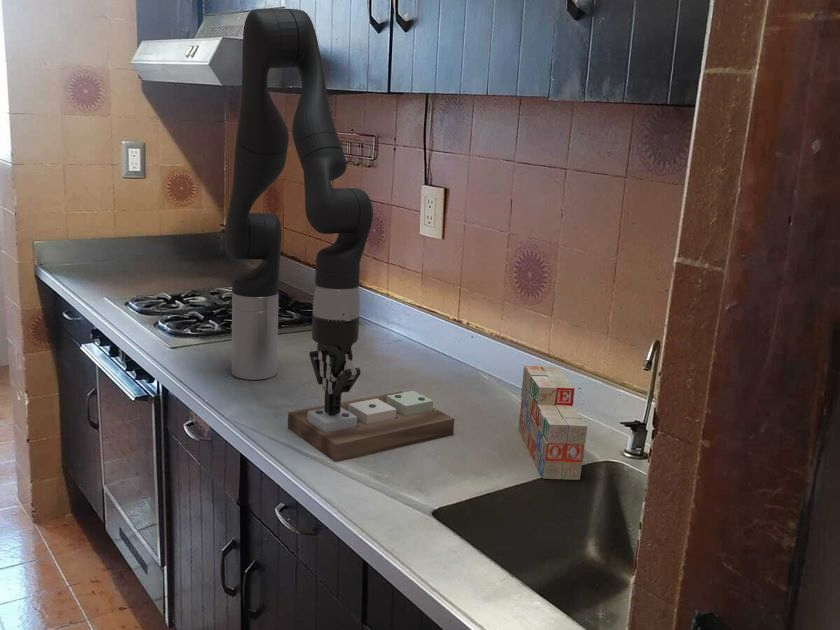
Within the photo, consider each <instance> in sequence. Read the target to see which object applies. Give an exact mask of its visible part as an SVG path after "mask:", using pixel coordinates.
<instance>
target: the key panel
mask: <svg viewBox="0 0 840 630" xmlns="http://www.w3.org/2000/svg"><path fill="white" fill-rule="evenodd" d="M398 393H404V392H403V391H397V392H396V391H395V392H391V393H384V394H380V395H379V394H378V395H373V396H369V397H364V398H357V399H352V400H346V401H341V405H340V406H341V407H342V408H343V409H345V410H347V411H348V404H350V403H355V402H361V401H366V400H372V399H379V400H381V401H383V402H384V403H386V396H388V395H393V394H398ZM323 408H325V404H324V405H320V406H314V407H309V408H308V407H307V408H303V409H297V410H292V411H288V412H287V429H288V430H289V431H291V432H292V433H293V434H295V435H296V436H298V437H299V438H300V439H302V440H303V441H305V442H306V443H308V444H309V445H310V446H312V447H314V448H315V449H316V450H317V451H319V452H321V453H322V454H323V455H325V456H326V457H328V458H329V459H330V460H331V461H333V462H334V463H338V462H342V461H346V460H351V459H355V458H359V457H363V456H368V455H371V454H376V453H380V452H386V451H389V450H394V449H398V448H402V447H406V446H409V445H414V444H419V443H424V442H428V441H433V440H436V439H440V438H445V437H450V436H454V433H455V431H454V429H455V418H454V417H452V416H450V415H448V414H447V413H444V412H442V411H441V410H439V409H437V408H435V407H433V411H431V412H426V413H422V414H417V415H412V416H407V417H404V416H402V415H401V414H399V413H397V412H396V419H393V420H388V421H383V422H378V423H373V424H368V425H366V424H364V423H362V422H361V421H359V420H357V427H354V428H349V429H344V430H339V431H335V432H330V433H323V432H322V431H320V430H319V429H317V428H316V427H314V426H313V425H311V424H310V423H308V422H307V418H308V411H312V410H318V409H323Z"/></svg>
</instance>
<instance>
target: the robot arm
mask: <svg viewBox="0 0 840 630" xmlns="http://www.w3.org/2000/svg"><path fill="white" fill-rule="evenodd" d="M243 25H244V26H243V32H242V33H243V34H242V62H241V63H242V64H241V65H242V67H241V69H242V70H241V73H242V74H241V95H240V96H241V97H240V106H239V115H238V123H237V130H236V137H235V139H236V140H235V149H234V161H233V163H234V164H233V176H232V177H233V178H232V179H233V180H232V187H231V194H230V199H229V204H228V205H229V206H228V211H227V215H226V221H225V228H224V229H225V230H224V249H225V251H226V254H227V255H228V256H229V258H232V259H235V260H260V261H261V262H260V263H259V264H258V265H257V266H256V267H254V268H253V269H251V270H249V271H247V272H244V273H241V274H240V275H237V276H235V277H234V278H233V279H232V283H231V309H232V310H231V375H232V376H233V377H236V378H239V379H242V380H251V381H252V380H257V381H258V380H266V379H270V378H273V377H275V376H276V375H277V373H278V343H279V341H278V336H279V335H278V334H279V332H278V330H279V293H280V292H279V289H280V287H279V284H280V264H281V263H280V262H281V253H282V252H281V251H282V250H281V249H282V238H283V234H282V223H281V220H280V218H279V216H278V215H277V214H275V213H271V212H270V213H269V212H268V213H266V212H265V213H263V212H250V211H251V209H252V207H253V205H254V203H256V201H257V200H258V199H259V197H260V196H262V195H263V193H265V192H266V190H268V188H270V186H272V185H273V183H274V182H276V180H277V179H278V178H279V177H280V175H281V173H282V172H283V170H284V168H285V165H286V160H287V154H288V147H289V140H290V134H289V129H288V126H287V123H286V121H285V120H284V118H283V116H282V114H281V113H280V111H279V109H278V107H277V105H275V103H274V101H273V98H272V97H271V94H270V91H269V87H268V76H269V71H270V69H285V68H286V69H287V68H296V69H297V71H298V72H299V75H300V79H301V91H300V97H299V100H298V103H297V106H296V110H295V112H294V116H293V119H292V140H293V142H294V146H295V147H294V148H295V149H296V153H297V156H298V159H299V162H300V165H301V168H302V170H303V183H304V207H305V208H304V210H305V215H306V218H307V221H308V223H309V225H310V226H311V227H312V228H313V229H314V231H316V232H317V233H319V234H323V235H332V234H333V235H334V234H338V235H337V238H336V239H335V241H334V243H332V244H331V245H328V246H327V247H325V248H322V249H320V250H319V251H318V252H317V253H316V258H315V279H314V280H315V282H314V283H315V284H314V292H313V299H312V300H313V301H312V320H311V321H312V326H311V327H312V329H311V339H312V340H313V341H314V342H315V343H317V345H316V347H317V349H316V350H314V351H313V350H311V351H309V355H308V356H309V359H310V361H311V365H312V367H313V368H312V369H313V372H314V375H315V378H316V381H317V384H318V385H321V386H322V390H323V391H324V405H325V408H324V411H325V412H326V413H327V414H329V415H335V414H339V413H340V408H341V406H340V405H341V402H342V394H343V393H349V392H350V391H351V390H352V388H353V386H354V384H355V383H356V381H357V380H358V379H359V377H360V375H361V368H360V367H355V365H354V364H353V362H352V361H353V359H354V356H353V349H352V347H353V345H354V344H355V343H357V341H358V340H359V330H360V329H359V326H360V309H361V308H360V306H361V295H360V273H361V271H360V270H361V268H360V267H361V264H360V263H361V260H362V256H363V254H364V252H365V247H366V245H367V241H368V237H369V234H370V231H371V228H372V224H373V218H374V209H373V204H372V201H371V198H370V197H369V195H368V194H367V193H366V191H364V189H361V188H357V187H343V188H341V187H338V188H337V187H336V188H333V186H332V184H331V182H332V181H334V180H337V179H338V178H340V177H342V176H343V175H344V174H345V172H346V171H347V159H346V155H345V153H344V150H343V147H342V144H341V141H340V139H339V138H340V137H339V135H338V132H337V129H336V126H335V123H334V119H333V116H332V111H331V108H330V103H329V97H328V96H329V95H328V91H327V90H328V89H327V85H326V80H325V79H326V78H325V74H324V67H323V63H322V62H323V61H322V56H321V52H320V51H321V50H320V47H319V42H318V37H317V33H316V29H315V26H314V24H313V21H312V19H311V17H310V15H309V14H308V13H307V12H305V11H304V10H303V9H299V8H298V9H297V8H257V9H256V8H255V9H252V10H250V11H249V12H248V14H247V15H246V18H245V19H244V24H243Z"/></svg>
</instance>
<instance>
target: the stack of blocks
mask: <svg viewBox="0 0 840 630" xmlns="http://www.w3.org/2000/svg"><path fill="white" fill-rule="evenodd" d="M522 374H523V375H522V386H521V400H520V401H521V402H520V412H519V418H518V420H519V421H518V431H519V432H520V436H521V438H522V439H523V442H524V445H525V447H526V448H527V449H528V452H529V453H530V455H531V456H532V459H533V461H534V464H535V466H536V468H537V471H538V472H539V474H540V477H541V478H542V479H546V480H547V479H548V480H570V481H571V480H572V481H573V480H574V481H575V480H577V481H579V480H581V475H582V465H583V460H584V451H585V445H586V443H587V433H588V425H587V423H586V422H585V421H584V419H583V417H582V416H581V415H580V414H579V412H578V411H577V409H576V408H575V406H574V397H575V387H574V385H572V383H571V382H570V381H569V379H568V378H566V376H565V374H564V373H563V372H562V371H561V369H560V367H558V366H546V365H542V366H540V365H523V373H522Z"/></svg>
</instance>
